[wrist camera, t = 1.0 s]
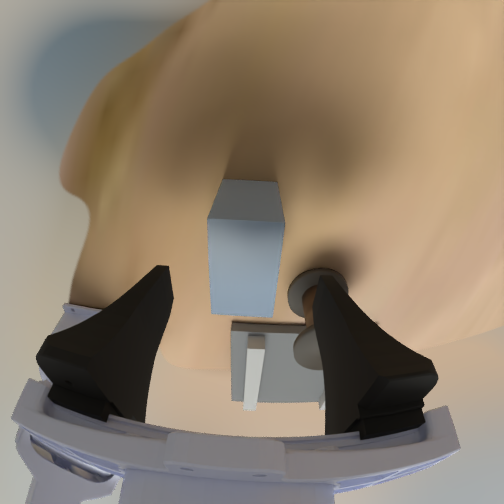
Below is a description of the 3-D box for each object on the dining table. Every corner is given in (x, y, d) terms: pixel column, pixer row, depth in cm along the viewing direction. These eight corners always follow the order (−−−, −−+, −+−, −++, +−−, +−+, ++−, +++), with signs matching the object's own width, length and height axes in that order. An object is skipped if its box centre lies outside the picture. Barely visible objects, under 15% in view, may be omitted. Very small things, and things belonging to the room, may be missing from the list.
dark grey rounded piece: (284, 313, 24) (288, 370, 18) (292, 266, 21) (300, 325, 16) (338, 314, 24) (352, 368, 19) (353, 269, 21) (376, 324, 16)
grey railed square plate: (232, 394, 32) (230, 410, 30) (231, 322, 24) (229, 343, 22) (337, 394, 32) (340, 409, 30) (376, 324, 24) (383, 344, 22)
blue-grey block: (222, 256, 21) (211, 314, 16) (222, 178, 17) (207, 218, 12) (269, 259, 21) (272, 317, 16) (277, 181, 17) (284, 222, 12)
